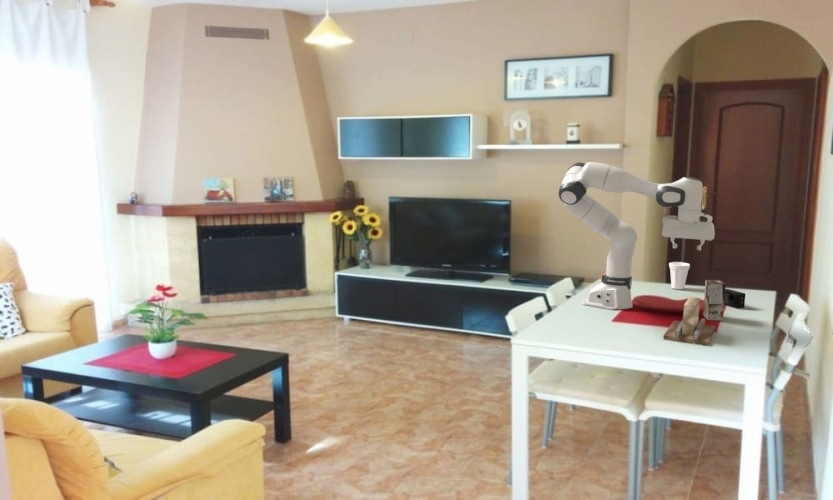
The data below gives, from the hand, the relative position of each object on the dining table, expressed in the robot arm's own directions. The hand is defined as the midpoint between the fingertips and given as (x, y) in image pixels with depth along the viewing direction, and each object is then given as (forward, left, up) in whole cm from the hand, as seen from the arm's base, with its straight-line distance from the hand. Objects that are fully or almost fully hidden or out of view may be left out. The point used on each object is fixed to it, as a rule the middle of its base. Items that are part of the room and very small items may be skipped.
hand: (686, 249), depth 278 cm
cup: (-11, +63, -31) cm, 71 cm away
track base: (+6, -19, -31) cm, 37 cm away
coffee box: (+11, +12, -31) cm, 35 cm away
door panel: (+6, -19, -30) cm, 36 cm away
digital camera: (+16, +39, -31) cm, 52 cm away
